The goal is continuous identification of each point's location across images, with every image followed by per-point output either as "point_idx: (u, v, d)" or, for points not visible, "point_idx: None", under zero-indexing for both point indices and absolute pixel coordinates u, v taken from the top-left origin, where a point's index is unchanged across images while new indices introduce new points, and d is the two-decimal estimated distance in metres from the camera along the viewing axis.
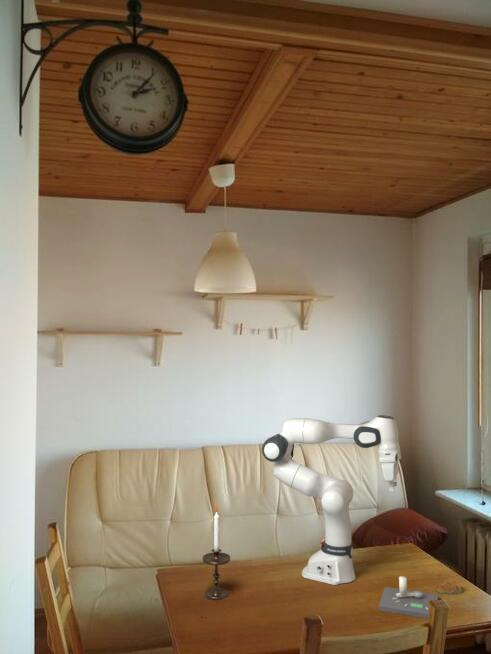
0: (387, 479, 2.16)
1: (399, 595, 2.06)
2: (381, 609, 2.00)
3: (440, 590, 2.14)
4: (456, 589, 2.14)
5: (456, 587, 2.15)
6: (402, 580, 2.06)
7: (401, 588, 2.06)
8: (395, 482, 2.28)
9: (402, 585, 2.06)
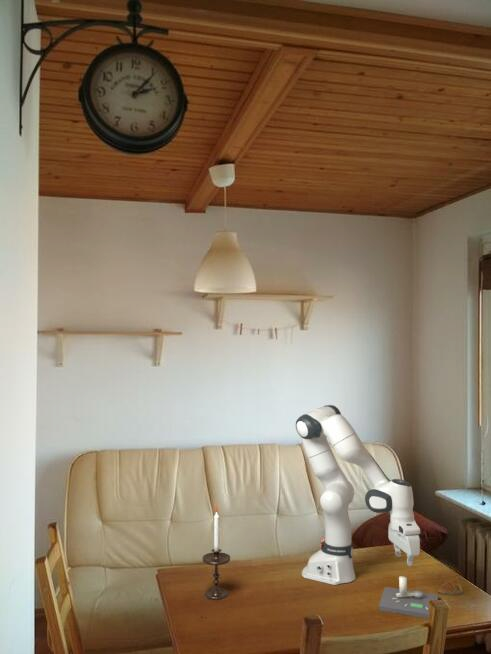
0: (413, 553, 1.98)
1: (399, 595, 2.06)
2: (381, 609, 2.00)
3: (441, 590, 2.14)
4: (457, 589, 2.14)
5: (457, 587, 2.14)
6: (402, 580, 2.06)
7: (401, 588, 2.06)
8: (400, 552, 2.12)
9: (402, 585, 2.06)
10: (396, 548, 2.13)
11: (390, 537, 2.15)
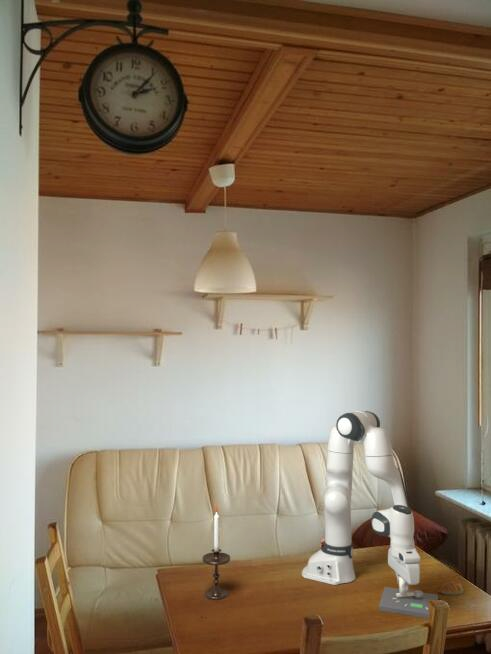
0: (412, 582, 1.97)
1: (399, 595, 2.06)
2: (381, 609, 2.00)
3: (442, 591, 2.13)
4: (458, 590, 2.14)
5: (458, 588, 2.14)
6: (402, 580, 2.06)
7: (401, 588, 2.06)
8: None
9: None
10: (398, 576, 2.10)
11: (389, 562, 2.15)
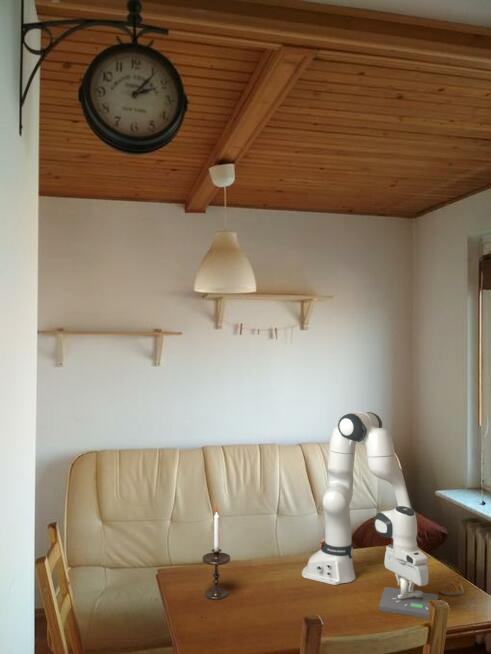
0: (423, 583, 1.97)
1: (401, 596, 2.05)
2: (381, 609, 2.00)
3: (443, 591, 2.13)
4: (459, 590, 2.14)
5: (459, 588, 2.14)
6: (404, 581, 2.05)
7: (403, 589, 2.05)
8: None
9: (404, 587, 2.05)
10: (398, 578, 2.09)
11: (388, 565, 2.12)
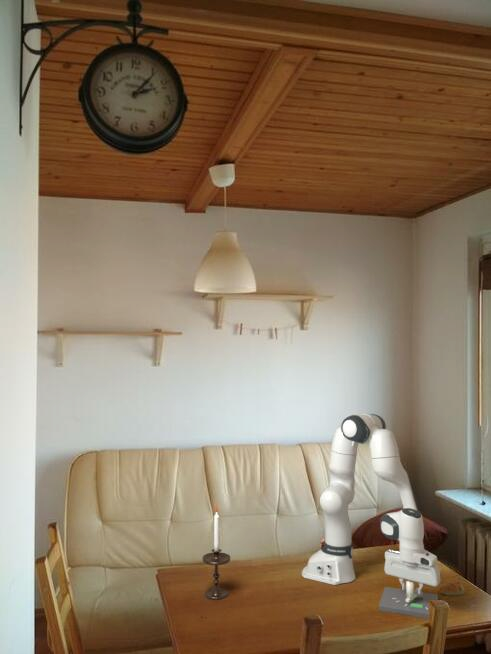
0: (438, 583, 1.97)
1: (409, 600, 2.02)
2: (381, 609, 2.00)
3: (444, 592, 2.13)
4: (460, 590, 2.13)
5: (460, 588, 2.14)
6: (412, 584, 2.03)
7: (411, 592, 2.02)
8: None
9: (412, 589, 2.02)
10: (402, 582, 2.05)
11: (390, 571, 2.07)
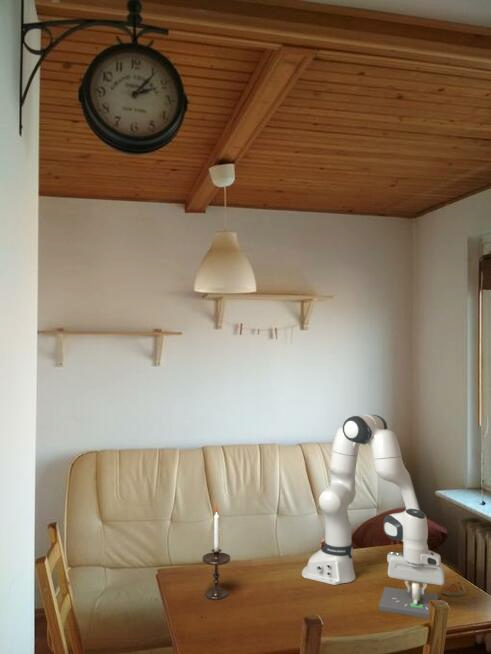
0: (444, 581, 1.98)
1: (416, 602, 2.01)
2: (381, 609, 2.00)
3: (446, 592, 2.12)
4: (461, 590, 2.13)
5: (461, 588, 2.13)
6: (418, 585, 2.02)
7: (418, 594, 2.01)
8: None
9: (419, 590, 2.02)
10: (408, 584, 2.03)
11: (394, 574, 2.04)
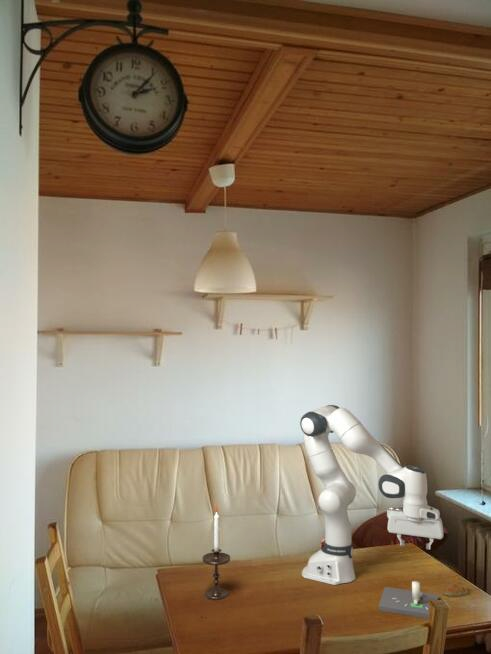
0: None
1: (417, 602, 2.01)
2: (381, 609, 2.00)
3: (448, 593, 2.12)
4: (463, 591, 2.13)
5: (463, 589, 2.13)
6: (419, 585, 2.02)
7: (418, 594, 2.01)
8: None
9: (419, 590, 2.02)
10: (400, 538, 2.07)
11: (393, 528, 2.07)
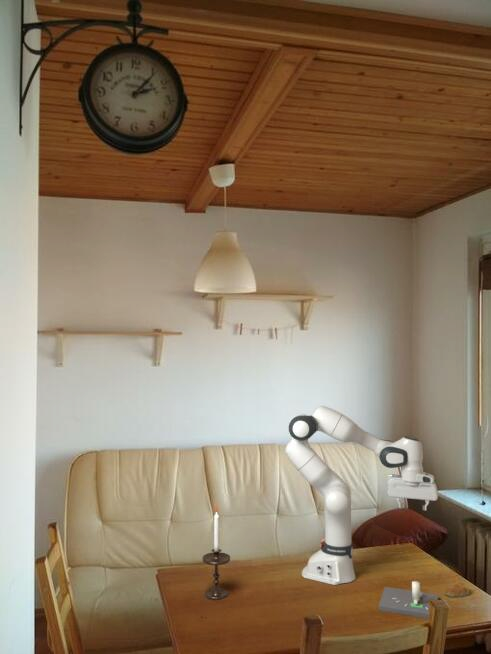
0: (437, 497, 2.25)
1: (417, 602, 2.01)
2: (381, 609, 2.00)
3: (450, 594, 2.11)
4: (465, 591, 2.12)
5: (464, 589, 2.13)
6: (419, 585, 2.02)
7: (418, 594, 2.01)
8: (402, 503, 2.31)
9: (419, 590, 2.02)
10: (399, 501, 2.31)
11: (393, 493, 2.30)
